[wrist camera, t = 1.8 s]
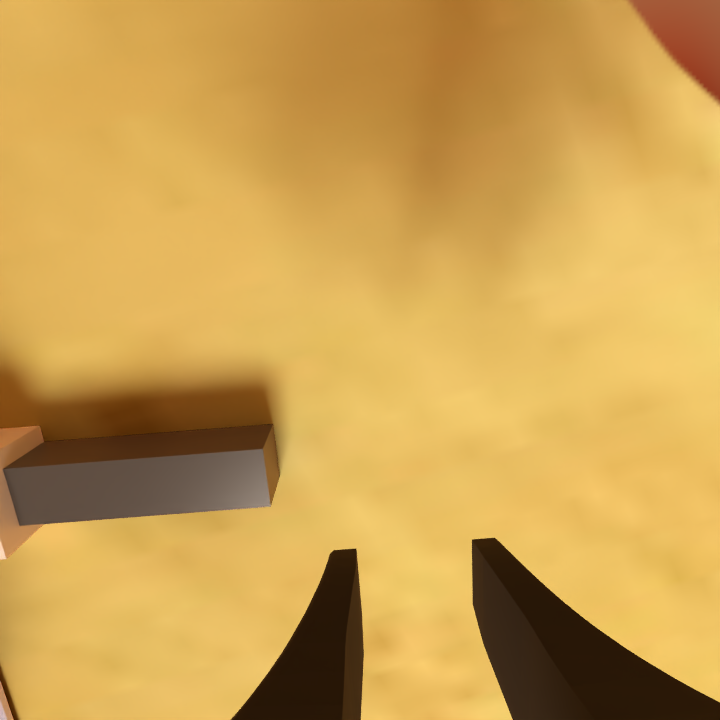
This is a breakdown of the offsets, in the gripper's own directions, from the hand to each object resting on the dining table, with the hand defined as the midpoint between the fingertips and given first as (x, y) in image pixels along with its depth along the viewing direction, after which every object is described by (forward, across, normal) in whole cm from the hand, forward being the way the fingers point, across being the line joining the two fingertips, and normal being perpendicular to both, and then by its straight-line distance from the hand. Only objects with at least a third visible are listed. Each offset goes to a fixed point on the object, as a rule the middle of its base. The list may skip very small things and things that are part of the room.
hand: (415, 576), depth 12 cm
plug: (+8, +12, 0) cm, 15 cm away
